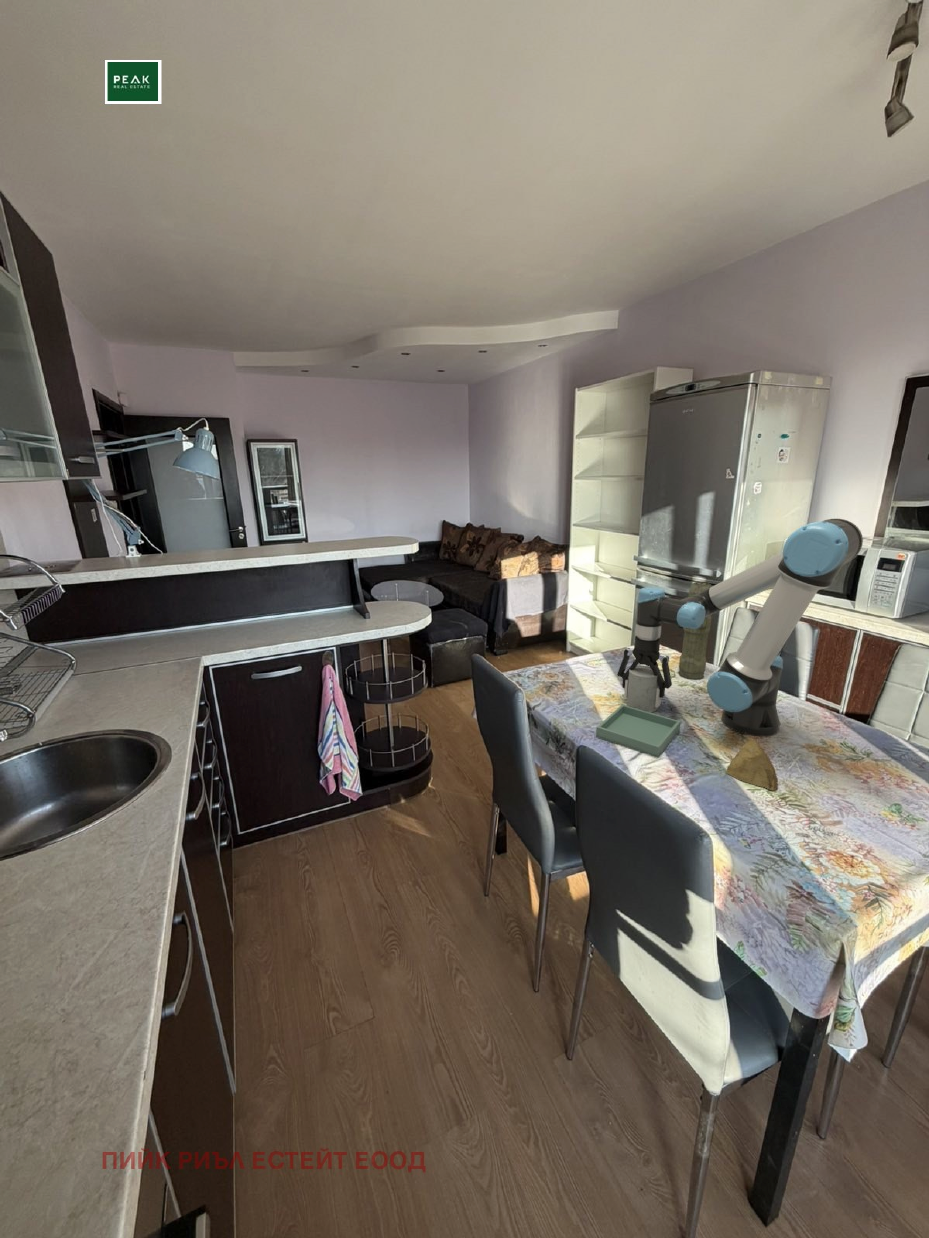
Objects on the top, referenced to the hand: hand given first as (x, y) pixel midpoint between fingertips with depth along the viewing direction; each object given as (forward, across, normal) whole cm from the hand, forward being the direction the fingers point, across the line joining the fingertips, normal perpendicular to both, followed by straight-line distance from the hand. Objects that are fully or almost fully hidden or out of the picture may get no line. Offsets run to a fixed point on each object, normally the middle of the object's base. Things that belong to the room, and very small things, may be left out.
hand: (641, 701), depth 166 cm
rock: (+2, -37, +23) cm, 44 cm away
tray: (+2, -6, +18) cm, 19 cm away
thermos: (+2, -5, -35) cm, 36 cm away
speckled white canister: (+2, 0, 0) cm, 2 cm away
